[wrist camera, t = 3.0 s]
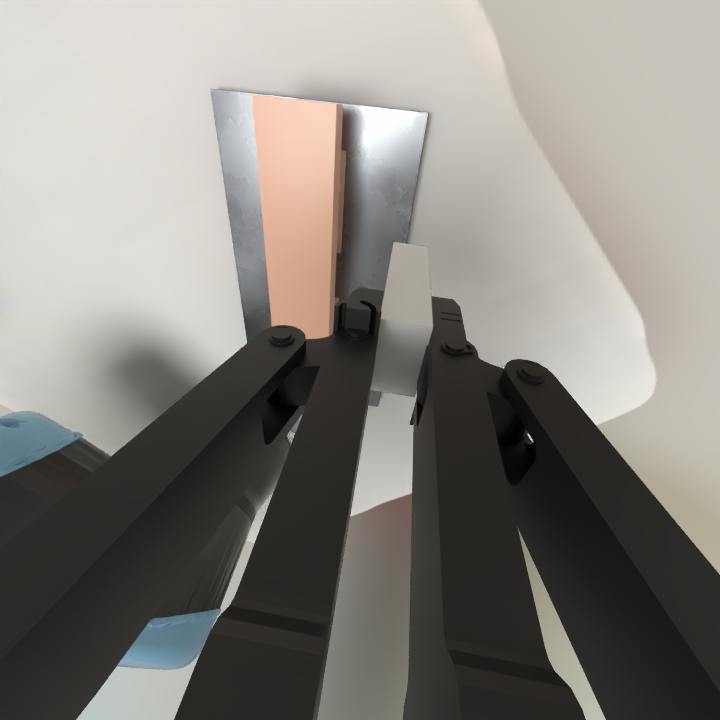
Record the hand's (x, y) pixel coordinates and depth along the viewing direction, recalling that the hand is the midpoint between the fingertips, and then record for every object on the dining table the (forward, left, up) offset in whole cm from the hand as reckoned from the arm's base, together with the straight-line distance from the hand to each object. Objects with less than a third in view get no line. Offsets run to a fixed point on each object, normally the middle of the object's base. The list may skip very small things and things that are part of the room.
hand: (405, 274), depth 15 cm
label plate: (-7, +7, -13) cm, 16 cm away
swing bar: (-7, +7, -9) cm, 13 cm away
